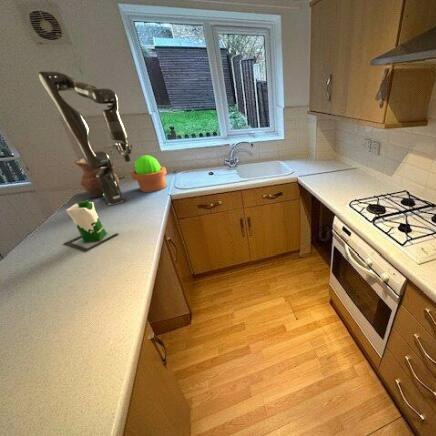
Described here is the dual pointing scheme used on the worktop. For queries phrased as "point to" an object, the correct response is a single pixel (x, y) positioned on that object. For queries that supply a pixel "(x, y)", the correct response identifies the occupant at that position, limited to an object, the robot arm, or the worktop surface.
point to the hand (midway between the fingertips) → (128, 161)
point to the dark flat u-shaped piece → (89, 247)
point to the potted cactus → (149, 174)
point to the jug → (91, 178)
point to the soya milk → (87, 221)
